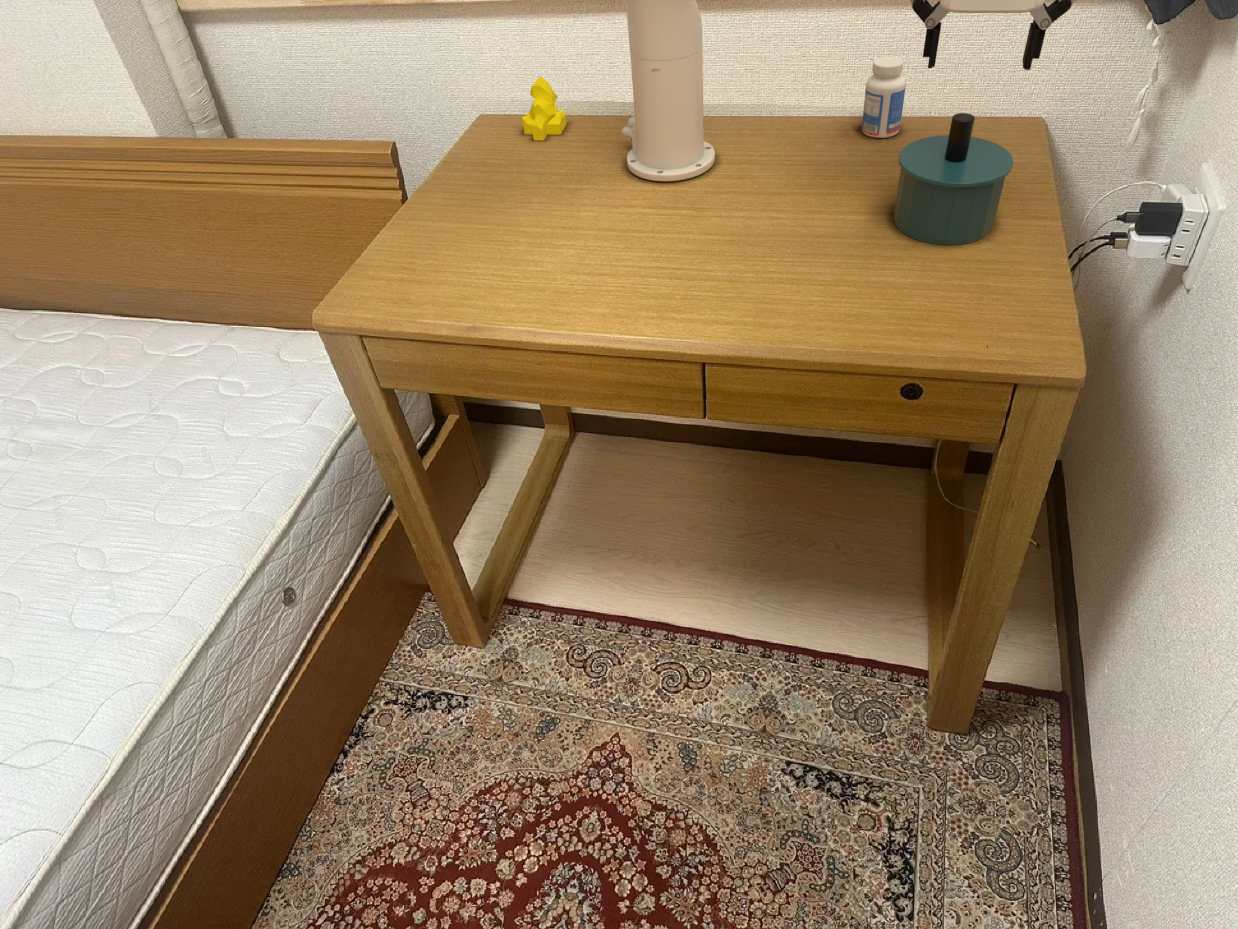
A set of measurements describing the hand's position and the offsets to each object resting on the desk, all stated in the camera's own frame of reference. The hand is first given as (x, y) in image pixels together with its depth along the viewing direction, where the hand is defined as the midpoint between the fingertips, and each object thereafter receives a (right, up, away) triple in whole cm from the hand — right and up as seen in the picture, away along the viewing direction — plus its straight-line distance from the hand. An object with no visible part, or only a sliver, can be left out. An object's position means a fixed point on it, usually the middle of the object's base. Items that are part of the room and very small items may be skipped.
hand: (978, 64), depth 92 cm
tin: (+1, -13, +13) cm, 18 cm away
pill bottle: (-1, +5, +32) cm, 32 cm away
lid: (0, -8, +7) cm, 11 cm away
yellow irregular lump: (-50, +9, +42) cm, 66 cm away
